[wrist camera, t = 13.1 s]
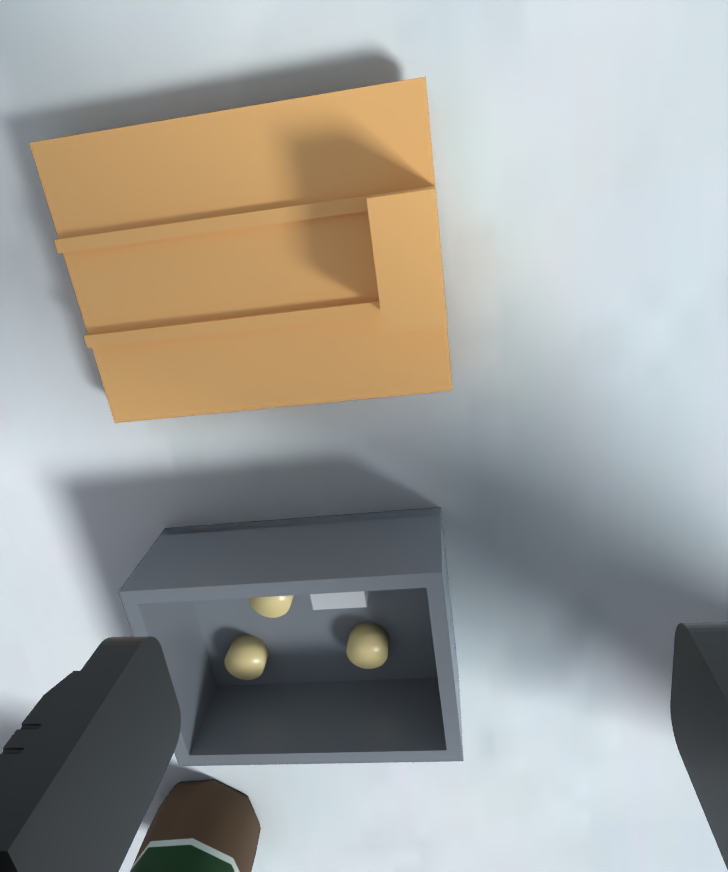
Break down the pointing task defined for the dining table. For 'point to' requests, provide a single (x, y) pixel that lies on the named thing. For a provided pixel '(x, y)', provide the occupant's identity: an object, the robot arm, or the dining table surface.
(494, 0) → the dining table surface
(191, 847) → the beer bottle
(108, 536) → the dining table surface
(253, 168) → the lid
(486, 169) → the dining table surface
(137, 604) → the tub
